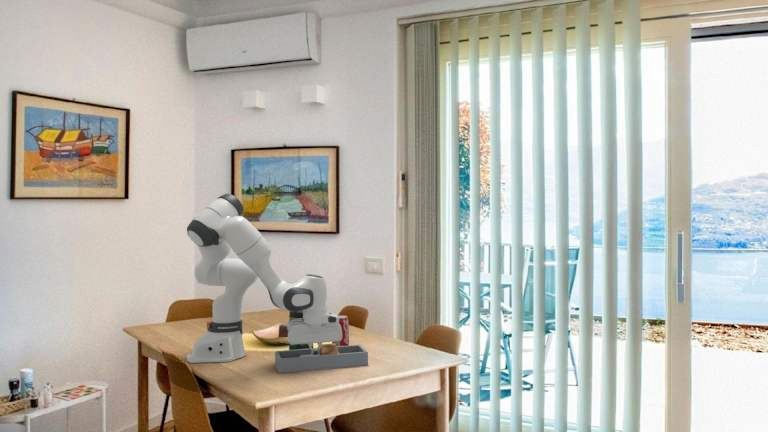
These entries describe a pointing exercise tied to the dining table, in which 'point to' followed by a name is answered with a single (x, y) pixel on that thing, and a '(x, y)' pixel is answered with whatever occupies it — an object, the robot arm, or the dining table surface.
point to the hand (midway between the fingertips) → (315, 354)
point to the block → (328, 349)
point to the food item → (283, 330)
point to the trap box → (320, 359)
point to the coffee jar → (297, 316)
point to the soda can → (343, 331)
